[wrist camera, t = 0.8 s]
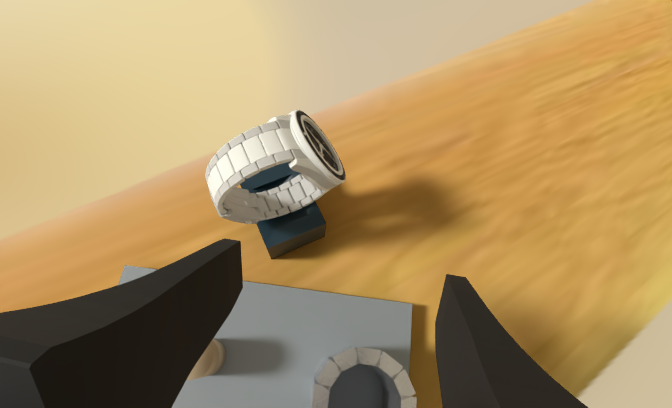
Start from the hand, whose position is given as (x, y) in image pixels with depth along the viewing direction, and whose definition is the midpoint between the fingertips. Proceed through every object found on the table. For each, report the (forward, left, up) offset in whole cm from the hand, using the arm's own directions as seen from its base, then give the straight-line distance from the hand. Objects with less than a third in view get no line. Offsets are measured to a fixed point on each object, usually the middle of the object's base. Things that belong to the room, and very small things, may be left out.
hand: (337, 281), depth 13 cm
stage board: (-3, +4, -14) cm, 15 cm away
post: (-3, +7, -13) cm, 15 cm away
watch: (+7, +4, -15) cm, 17 cm away
